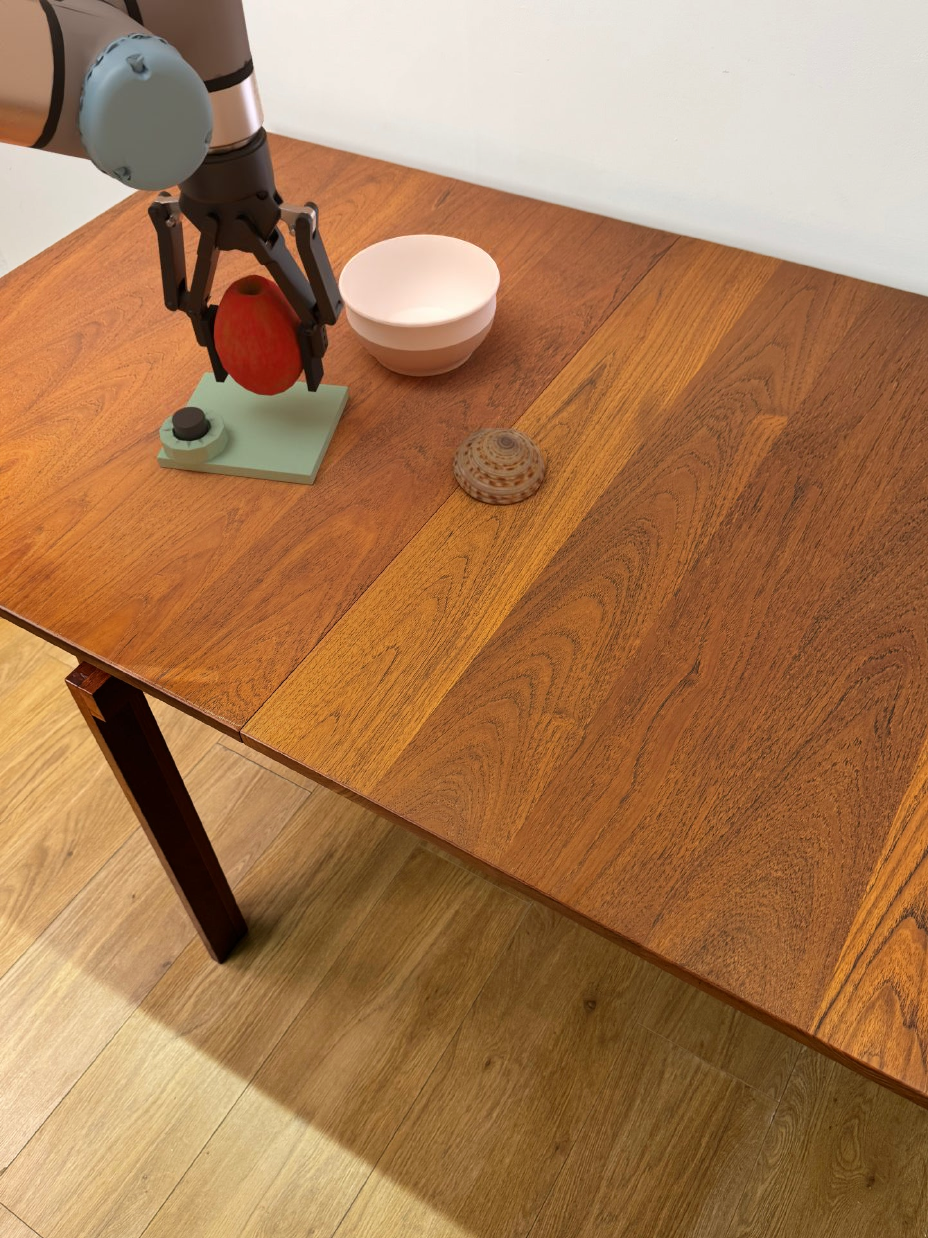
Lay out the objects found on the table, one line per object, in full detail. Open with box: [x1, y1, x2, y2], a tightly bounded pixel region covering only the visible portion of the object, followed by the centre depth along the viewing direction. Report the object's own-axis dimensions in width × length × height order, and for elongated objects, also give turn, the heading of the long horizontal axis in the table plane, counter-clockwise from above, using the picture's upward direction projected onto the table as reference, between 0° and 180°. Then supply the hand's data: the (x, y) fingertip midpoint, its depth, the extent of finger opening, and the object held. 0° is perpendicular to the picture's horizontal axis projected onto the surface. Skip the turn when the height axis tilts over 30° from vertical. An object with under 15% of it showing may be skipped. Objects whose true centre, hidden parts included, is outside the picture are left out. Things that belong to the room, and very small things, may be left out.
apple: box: [214, 274, 304, 396], centre depth 89 cm, size 8×8×11 cm
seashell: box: [452, 427, 545, 505], centre depth 91 cm, size 8×6×8 cm
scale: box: [156, 371, 350, 486], centre depth 95 cm, size 15×13×3 cm
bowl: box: [338, 234, 501, 377], centre depth 102 cm, size 16×16×8 cm
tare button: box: [171, 406, 208, 442], centre depth 92 cm, size 3×3×2 cm
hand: (270, 377), depth 93 cm, fingers closed on apple, 8 cm apart
